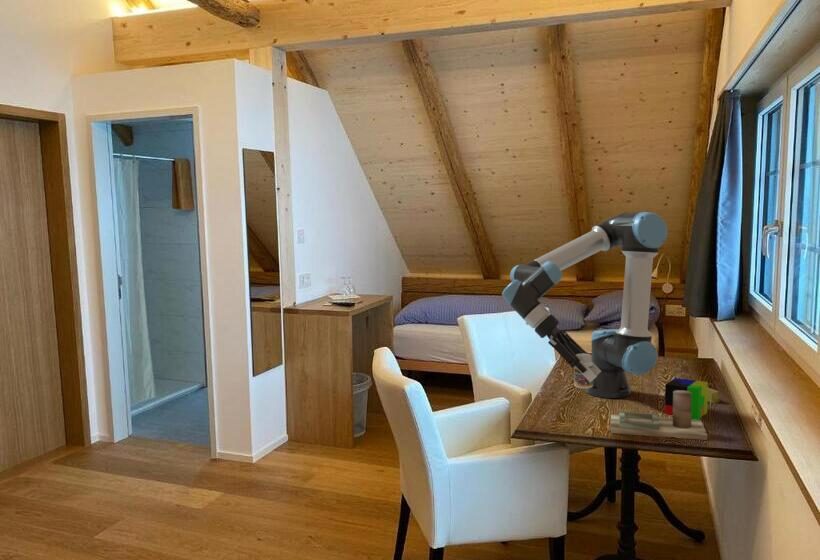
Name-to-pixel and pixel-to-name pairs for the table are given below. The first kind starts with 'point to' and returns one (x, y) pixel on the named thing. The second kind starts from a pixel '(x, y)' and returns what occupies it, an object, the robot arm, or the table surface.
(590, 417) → the table surface
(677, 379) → the puzzle toy
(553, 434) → the table surface
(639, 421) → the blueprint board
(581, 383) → the pill bottle
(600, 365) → the robot arm
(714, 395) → the medication box
